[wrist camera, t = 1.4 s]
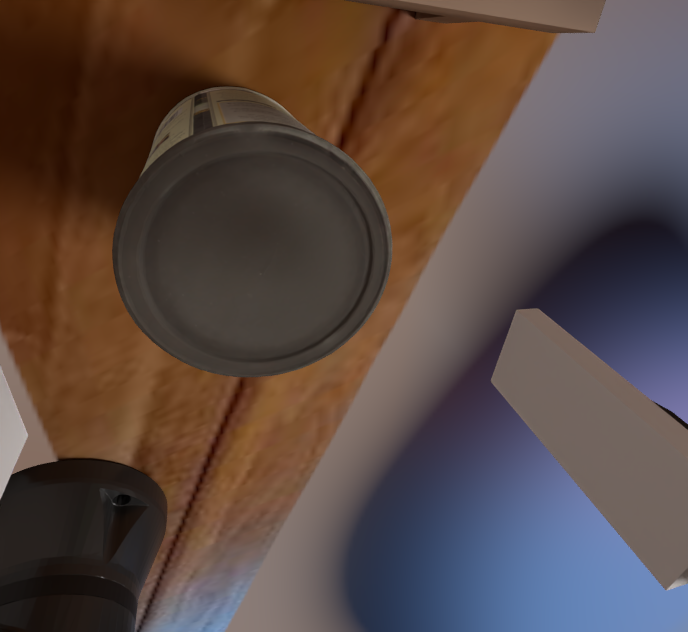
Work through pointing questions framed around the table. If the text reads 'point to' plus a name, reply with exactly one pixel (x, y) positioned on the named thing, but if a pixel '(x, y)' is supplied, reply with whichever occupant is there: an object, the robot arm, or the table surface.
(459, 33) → the table surface
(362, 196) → the coffee can
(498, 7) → the stool
